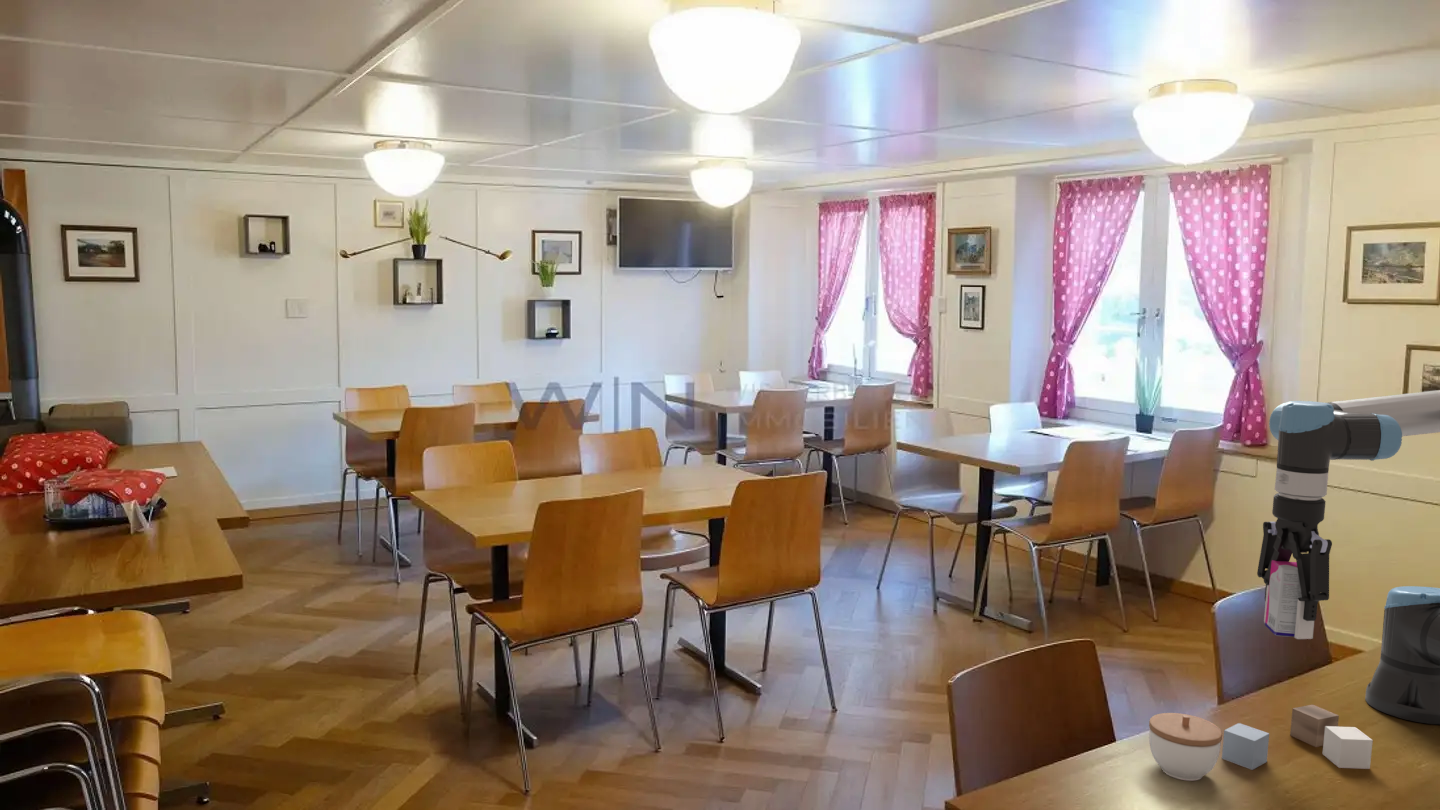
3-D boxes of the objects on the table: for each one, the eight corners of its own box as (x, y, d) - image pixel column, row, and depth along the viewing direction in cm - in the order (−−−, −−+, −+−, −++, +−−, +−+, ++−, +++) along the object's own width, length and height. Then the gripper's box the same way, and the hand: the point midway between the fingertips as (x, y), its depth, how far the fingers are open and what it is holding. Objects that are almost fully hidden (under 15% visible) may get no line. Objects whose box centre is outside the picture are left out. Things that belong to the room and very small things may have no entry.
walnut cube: (1310, 731, 187) (1312, 704, 186) (1336, 743, 182) (1338, 715, 182) (1290, 735, 185) (1292, 708, 184) (1315, 747, 180) (1318, 719, 180)
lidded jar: (1221, 767, 172) (1226, 712, 171) (1214, 794, 163) (1219, 736, 162) (1151, 751, 177) (1155, 697, 176) (1140, 776, 168) (1145, 720, 167)
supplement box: (1313, 639, 173) (1319, 571, 172) (1274, 636, 174) (1280, 568, 173) (1301, 627, 179) (1307, 561, 177) (1263, 624, 180) (1269, 559, 178)
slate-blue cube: (1236, 751, 178) (1238, 722, 178) (1266, 762, 174) (1269, 733, 174) (1221, 758, 175) (1224, 730, 175) (1252, 770, 171) (1254, 741, 171)
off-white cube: (1352, 755, 178) (1355, 727, 177) (1369, 769, 173) (1372, 740, 172) (1322, 754, 178) (1325, 726, 177) (1338, 768, 173) (1341, 739, 172)
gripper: (1240, 483, 183) (1230, 612, 186) (1321, 508, 163) (1308, 652, 166) (1280, 483, 184) (1269, 610, 187) (1365, 508, 164) (1351, 650, 167)
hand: (1287, 630), depth 176 cm, fingers closed on supplement box, 7 cm apart
